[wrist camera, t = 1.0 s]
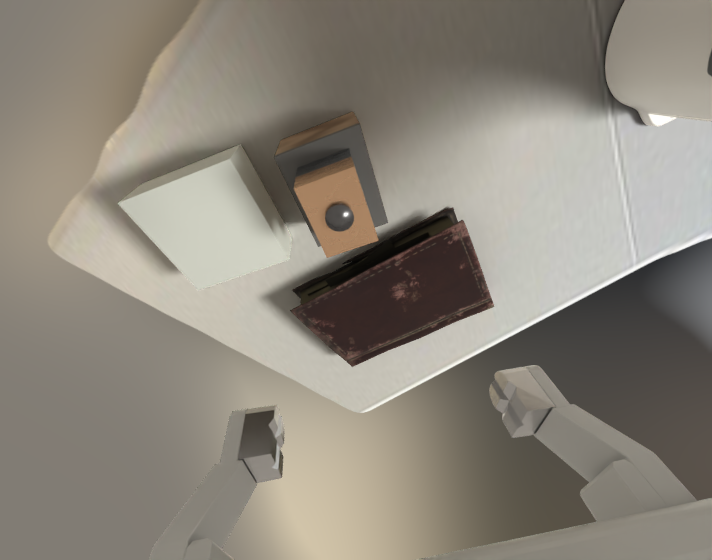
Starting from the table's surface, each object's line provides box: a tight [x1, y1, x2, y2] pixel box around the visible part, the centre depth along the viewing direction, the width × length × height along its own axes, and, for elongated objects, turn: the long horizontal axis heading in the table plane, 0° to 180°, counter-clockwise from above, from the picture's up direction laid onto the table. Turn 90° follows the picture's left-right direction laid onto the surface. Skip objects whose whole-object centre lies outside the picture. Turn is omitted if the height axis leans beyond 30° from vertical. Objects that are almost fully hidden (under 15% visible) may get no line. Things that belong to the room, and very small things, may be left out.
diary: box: [290, 208, 494, 367], centre depth 44 cm, size 19×25×5 cm
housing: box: [294, 148, 379, 258], centre depth 26 cm, size 5×7×5 cm
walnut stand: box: [274, 112, 388, 247], centre depth 31 cm, size 8×10×6 cm
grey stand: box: [118, 144, 292, 291], centre depth 33 cm, size 12×12×5 cm
